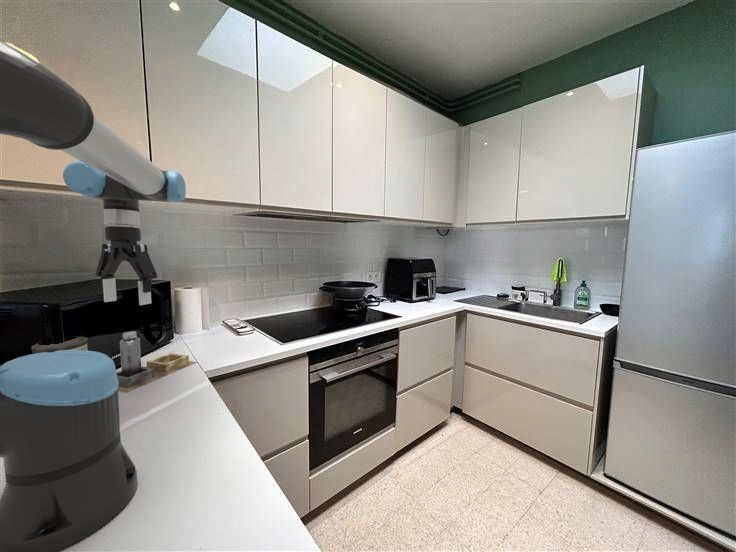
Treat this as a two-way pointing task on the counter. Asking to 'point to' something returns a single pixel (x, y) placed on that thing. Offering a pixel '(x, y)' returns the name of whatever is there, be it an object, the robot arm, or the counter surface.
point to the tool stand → (153, 371)
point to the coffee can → (62, 346)
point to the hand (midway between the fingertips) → (127, 302)
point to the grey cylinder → (130, 354)
